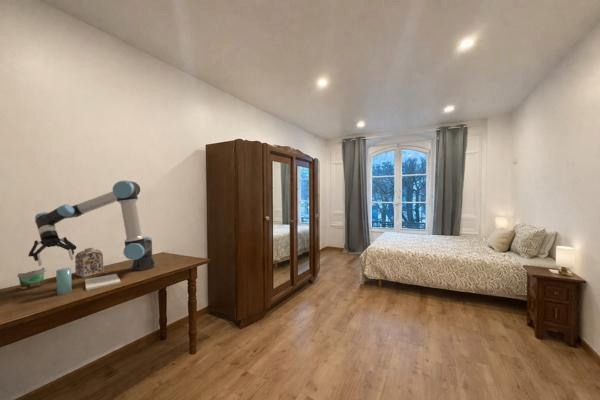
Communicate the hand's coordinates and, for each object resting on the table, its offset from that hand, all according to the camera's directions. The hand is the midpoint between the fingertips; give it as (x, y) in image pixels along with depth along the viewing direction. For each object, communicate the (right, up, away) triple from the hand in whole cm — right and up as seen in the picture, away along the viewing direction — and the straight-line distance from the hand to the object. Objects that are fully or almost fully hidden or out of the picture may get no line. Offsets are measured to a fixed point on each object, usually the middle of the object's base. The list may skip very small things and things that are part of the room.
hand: (57, 261), depth 141 cm
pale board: (+19, -16, +10) cm, 26 cm away
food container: (-16, -16, +3) cm, 23 cm away
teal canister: (+10, -16, -5) cm, 19 cm away
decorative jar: (-4, -16, +27) cm, 32 cm away
